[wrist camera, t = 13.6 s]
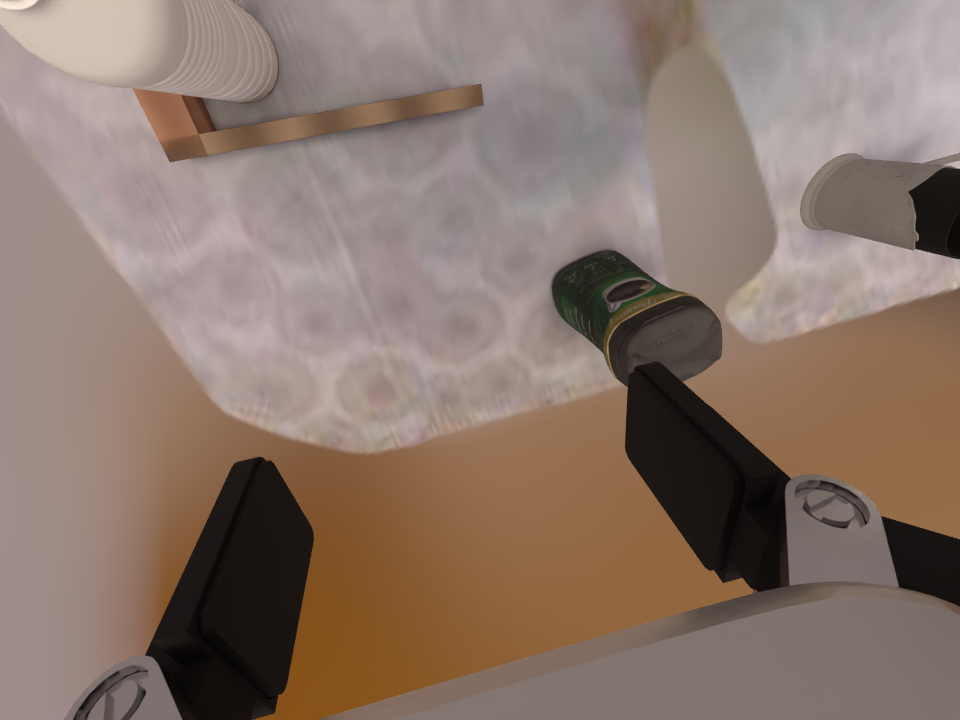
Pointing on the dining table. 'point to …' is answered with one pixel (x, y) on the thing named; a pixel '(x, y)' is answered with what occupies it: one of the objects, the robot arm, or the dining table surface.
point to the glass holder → (888, 202)
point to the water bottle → (150, 44)
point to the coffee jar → (636, 317)
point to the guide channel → (194, 134)
